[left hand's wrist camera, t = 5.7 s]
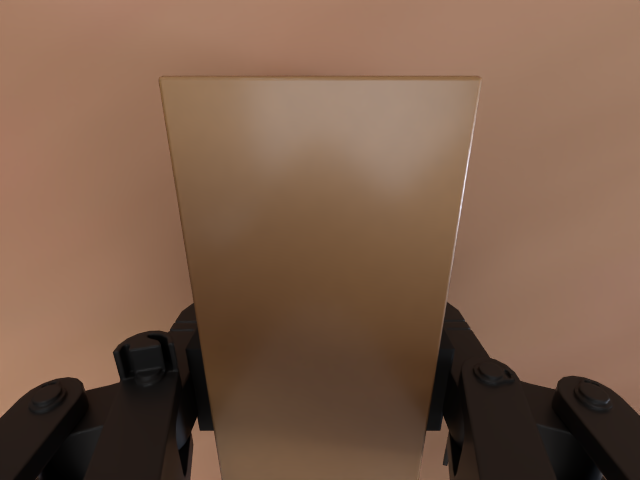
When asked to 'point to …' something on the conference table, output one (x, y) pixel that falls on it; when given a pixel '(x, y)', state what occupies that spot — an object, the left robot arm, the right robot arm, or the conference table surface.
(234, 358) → the bar
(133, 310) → the conference table surface
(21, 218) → the conference table surface
